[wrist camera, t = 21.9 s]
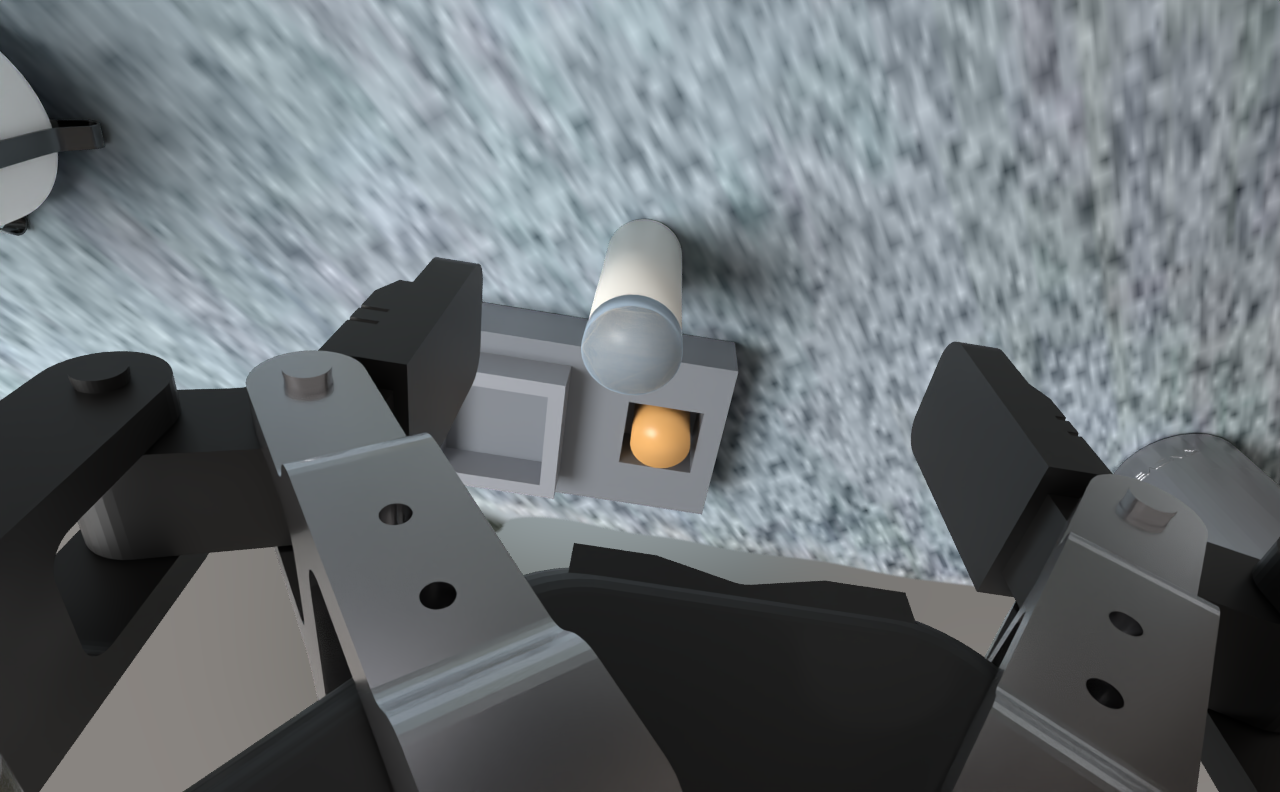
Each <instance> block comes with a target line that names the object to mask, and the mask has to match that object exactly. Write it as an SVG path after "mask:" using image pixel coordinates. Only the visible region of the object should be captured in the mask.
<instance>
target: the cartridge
mask: <svg viewBox="0 0 1280 792" xmlns="http://www.w3.org/2000/svg"><path fill="white" fill-rule="evenodd" d="M581 353H582V359H583V362H584V365H585V367H586V369H587V370H588V372H589V373H590V375H591V376H592V377H593V378H594V379H595V380H596V381H597V382H598V383H599V384H601V385H602V386H604V387H605V388H607V389H609V390H611V391H614V392H617V393H621V394H626V395H642V394H647V393H650V392H653V391H656V390H658V389H660V388H661V387H663V386H665V385H666V384H667V383H668V382H669V381H670V380H671V379H672V378H673V377H674V376H675V374H676V373H677V371H678V369H679V367H680V365H681V361H682V356H683V336H682V249H681V245H680V243H679V240H678V238H677V237H676V235H675V234H674V233H673V232H672V230H671V229H669V228H668V227H667V226H665V225H664V224H662V223H660V222H658V221H654V220H650V219H638V220H633V221H630V222H628V223H626V224H624V225H623V226H621V227H620V228H619V229H618V230H617V231H616V232H615V233H614V234H613V236H612V238H611V239H610V242H609V244H608V248H607V252H606V256H605V260H604V263H603V267H602V271H601V275H600V279H599V282H598V286H597V290H596V294H595V297H594V301H593V305H592V309H591V313H590V316H589V319H588V322H587V324H586V328H585V331H584V335H583V339H582V344H581Z"/></svg>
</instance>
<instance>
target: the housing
mask: <svg viewBox="0 0 1280 792" xmlns="http://www.w3.org/2000/svg"><path fill="white" fill-rule="evenodd" d="M587 322H588V319H585V318H578V317H572V316H566V315H559V314H553V313H547V312H541V311H534V310H528V309H522V308H516V307H509V306H503V305H497V304H491V303H484V302H482V318H481V348H480V358H479V364H478V369H477V373H476V377H475V380H474V382H473V385H472V387H471V388H470V390H469V392H468V394H467V396H466V398H465V400H464V402H463V404H462V406H461V408H460V410H459V412H458V414H457V416H456V418H455V420H454V422H453V424H452V426H451V428H450V430H449V432H448V434H447V436H446V438H445V440H444V442H443V444H442V446H441V447H440V449H441V450H442V452H443V453H444V455H445V456H446V458H447V459H448V461H449V462H450V464H451V465H452V467H453V469H454V470H455V472H456V473H457V475H458V476H459V478H460V479H461V481H462V482H463V484H464V485H465V486H472V487H478V488H485V489H491V490H498V491H504V492H511V493H518V494H524V495H531V496H537V497H544V498H551V499H553V498H554V494H555V492H559V493H565V494H572V495H579V496H585V497H592V498H598V499H605V500H611V501H618V502H625V503H631V504H638V505H644V506H651V507H657V508H664V509H671V510H677V511H684V512H690V513H697V514H702V511H703V508H704V504H705V500H706V496H707V492H708V488H709V484H710V480H711V476H712V473H713V469H714V465H715V461H716V457H717V453H718V449H719V445H720V441H721V438H722V434H723V430H724V426H725V422H726V418H727V414H728V410H729V406H730V403H731V399H732V395H733V391H734V387H735V383H736V379H737V375H738V364H737V356H736V348H735V342H729V341H722V340H716V339H710V338H704V337H697V336H691V335H685V334H682V336H683V356H682V361H681V365H680V367H679V369H678V371H677V373H676V374H675V376H674V377H673V378H672V379H671V380H670V381H669V382H668V383H667V384H666V385H665V386H663V387H661V388H660V389H658V390H656V391H653V392H650V393H647V394H642V395H626V394H621V393H617V392H614V391H611V390H609V389H607V388H605V387H604V386H602V385H601V384H599V383H598V382H597V381H596V380H595V379H594V378H593V377H592V376H591V375H590V373H589V372H588V370H587V369H586V367H585V365H584V362H583V359H582V353H581V344H582V339H583V335H584V331H585V328H586V324H587ZM635 403H639V404H646V405H652V406H658V407H665V408H671V409H678V410H684V411H690V450H689V453H688V455H687V456H686V458H685V459H684V460H683V461H681V462H680V463H679V464H677V465H675V466H672V467H668V468H654V467H650V466H647V465H645V464H643V463H642V462H640V461H639V460H638V459H637V458H636V457H635V456H634V454H633V452H632V450H631V446H630V440H631V431H632V423H633V415H634V407H635Z"/></svg>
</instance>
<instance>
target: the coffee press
mask: <svg viewBox="0 0 1280 792" xmlns="http://www.w3.org/2000/svg"><path fill="white" fill-rule="evenodd" d="M103 147H105V144H104V139H103V135H102V130H101V126H100V123H99V122H97V121H93V120H60V119H49V118H48V116H47V113H46V111H45V109H44V107H43V105H42V103H41V102H40V100H39V98H38V97H37V95H36V93H35V92H34V90H33V89H32V87H31V86H30V84H29V83H28V82H27V80H26V79H25V78H24V77H23V75H22V74H21V73H20V72H19V71H18V69H17V68H16V67H15V66H14V65H13V64H12V63H11V62H10V61H9V60H8V59H7V58H6V57H5V56H4V55H3V54H2V53H1V52H0V226H2V225H5V226H4V227H3V228H0V233H6V234H11V235H17V236H19V235H22V234H24V233H25V232H26V230H27V227H28V221H27V218H26V215H28V214H29V213H31V212H33V211H34V210H35V209H37V208H38V207H39V206H40V205H41V204H42V203H43V202H44V201H45V200H46V198H47V197H48V195H49V194H50V192H51V190H52V188H53V185H54V182H55V179H56V175H57V168H58V153H57V152H62V151H73V150H88V149H99V148H103Z"/></svg>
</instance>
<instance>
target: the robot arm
mask: <svg viewBox="0 0 1280 792" xmlns="http://www.w3.org/2000/svg"><path fill="white" fill-rule="evenodd" d="M482 286H483V275H482V268H481V265H480V264H476V263H470V262H464V261H457V260H451V259H445V258H439V257H435V258H433V259H432V261H431V262H430V263H429V264H428V265H427V266H426V268H425V269H424V270H423V271H422V272H421V273H420V275H419V276H418V277H417V278H416V279H415V280H414V282H409V281H403V280H398V281H396V282H394V283H391V284H389V285H387V286H384V287H382V288H380V289H377V290H375V291H374V292H373V293H372V294H371V295H370V296H369V298H368V299H367V300H366V301H365V302H364V303H363V304H362V306H361V308H358V309H357V310H356V311H355V312H354V313H353V314H352V315H351V316H350V320H347V321H346V322H345V323H344V324H343V325H342V326H341V327H340V328H339V329H338V330H337V331H336V332H335V333H334V334H333V335H332V336H331V338H330V339H329V340H328V341H327V342H326V343H325V344H324V345H323V346H322V347H321V348H320V349H319V350H318V351H316V350H315V351H299V352H292V353H287V354H283V355H279V356H276V357H273V358H271V359H268V360H266V361H264V362H262V363H261V364H259V365H258V366H256V367H255V368H254V369H253V370H252V371H251V372H250V373H249V375H248V377H247V379H246V387H244V388H230V389H193V390H177V389H176V384H175V380H174V376H173V372H172V368H171V367H170V365H169V364H168V363H167V362H166V361H164V360H163V359H161V358H159V357H156V356H153V355H150V354H145V353H139V352H128V351H115V352H102V353H95V354H89V355H84V356H80V357H76V358H73V359H69V360H66V361H63V362H61V363H58V364H56V365H53V366H51V367H49V368H47V369H46V370H44V371H42V372H41V373H39V374H38V375H36V376H35V377H33V378H32V379H30V380H29V381H28V382H26V383H25V384H23V385H22V386H20V387H19V388H18V389H16V390H15V391H13V392H12V393H11V394H9V395H8V396H6V397H5V398H3V399H2V400H1V401H0V792H39V791H40V790H41V789H42V787H43V786H44V784H45V783H46V782H47V780H48V779H49V777H50V776H51V774H52V773H53V772H54V770H55V769H56V767H57V766H58V765H59V763H60V762H61V760H62V759H63V758H64V756H65V755H66V754H67V752H68V751H69V749H70V748H71V746H72V745H73V744H74V742H75V741H76V739H77V738H78V737H79V735H80V734H81V732H82V731H83V730H84V728H85V727H86V725H87V724H88V723H89V721H90V720H91V718H92V717H93V716H94V714H95V713H96V711H97V710H98V709H99V707H100V706H101V704H102V703H103V701H104V700H105V699H106V697H107V696H108V695H109V693H110V692H111V690H112V689H113V688H114V686H115V685H116V683H117V682H118V681H119V679H120V678H121V676H122V675H123V674H124V672H125V671H126V669H127V668H128V667H129V665H130V664H131V662H132V661H133V660H134V658H135V656H136V655H137V654H138V653H139V651H140V650H141V648H142V647H143V645H144V644H145V643H146V641H147V640H148V639H149V637H150V636H151V634H152V633H153V632H154V630H155V629H156V627H157V626H158V625H159V623H160V622H161V620H162V619H163V617H164V616H165V614H166V613H167V612H168V610H169V609H170V608H171V606H172V605H173V603H174V602H175V601H176V599H177V598H178V597H179V595H180V594H181V592H182V591H183V589H184V588H185V587H186V585H187V584H188V582H189V581H190V580H191V578H192V577H193V575H194V574H195V573H196V571H197V570H198V568H199V567H200V566H201V564H202V563H203V561H204V560H205V559H206V557H207V555H208V554H209V553H210V552H221V551H233V550H243V549H255V548H266V547H274V548H275V554H276V557H277V560H278V563H279V566H280V570H281V572H282V576H283V579H284V582H285V585H286V588H287V591H288V594H289V598H290V601H291V604H292V607H293V610H294V613H295V616H296V619H297V622H298V626H299V628H300V632H301V635H302V638H303V641H304V644H305V648H306V651H307V654H308V658H309V662H310V666H311V670H312V675H313V680H314V684H315V688H316V693H317V697H318V701H317V702H315V703H314V704H312V705H311V706H309V707H308V708H306V709H305V710H303V711H302V712H300V713H299V714H297V715H296V716H295V717H293V718H291V719H290V720H289V721H287V722H286V723H284V724H283V725H281V726H280V727H278V728H277V729H275V730H274V731H272V732H271V733H269V734H268V735H266V736H265V737H264V738H262V739H260V740H259V741H257V742H256V743H254V744H253V745H251V746H250V747H248V748H247V749H246V750H244V751H243V752H241V753H240V754H238V755H237V756H235V757H234V758H232V759H231V760H229V761H228V762H226V763H225V764H223V765H222V766H220V767H219V768H217V769H216V770H214V771H213V772H211V773H210V774H208V775H207V776H205V777H204V778H203V779H201V780H199V781H198V782H197V783H195V784H194V785H192V786H191V787H189V788H188V789H186V790H185V791H183V792H1197V784H1198V777H1199V769H1200V762H1202V764H1203V765H1204V767H1205V769H1206V770H1207V772H1208V774H1209V776H1210V777H1211V779H1212V781H1213V782H1214V784H1215V786H1216V788H1217V789H1218V791H1219V792H1280V486H1279V485H1278V484H1277V483H1275V481H1274V480H1272V479H1271V478H1270V477H1269V476H1268V475H1267V474H1266V473H1264V472H1263V471H1262V470H1261V469H1260V468H1259V467H1258V466H1256V465H1255V464H1254V463H1253V462H1252V461H1251V460H1250V459H1249V458H1247V457H1246V456H1245V455H1244V454H1243V453H1242V452H1241V451H1239V450H1238V449H1237V448H1236V447H1235V446H1234V445H1233V444H1231V443H1230V442H1228V441H1226V440H1224V439H1222V438H1220V437H1216V436H1212V435H1208V434H1185V435H1178V436H1174V437H1170V438H1166V439H1162V440H1160V441H1158V442H1155V443H1153V444H1150V445H1148V446H1146V447H1145V448H1143V449H1141V450H1139V451H1138V452H1136V453H1135V454H1133V455H1132V456H1131V457H1130V458H1128V459H1127V460H1126V461H1124V462H1123V464H1122V465H1121V466H1120V467H1119V468H1118V469H1117V470H1116V471H1115V473H1114V474H1112V473H1111V471H1110V470H1109V469H1108V468H1107V467H1106V465H1105V464H1104V463H1103V462H1102V461H1101V459H1100V458H1099V457H1098V456H1097V455H1096V453H1095V452H1094V451H1093V450H1092V449H1091V447H1090V446H1089V445H1088V444H1087V443H1086V441H1085V440H1084V439H1083V438H1082V437H1079V436H1078V432H1077V430H1076V429H1075V428H1074V427H1073V426H1072V424H1071V423H1070V422H1069V421H1065V418H1066V417H1065V416H1064V415H1063V414H1062V412H1061V411H1060V410H1059V409H1058V408H1057V406H1056V405H1055V404H1054V403H1053V402H1052V400H1051V399H1050V398H1048V397H1047V396H1045V395H1044V394H1043V393H1041V392H1040V391H1038V390H1037V389H1036V388H1034V387H1033V386H1031V385H1030V384H1029V383H1028V382H1027V381H1026V380H1025V378H1024V377H1023V376H1022V375H1021V373H1020V372H1019V371H1018V370H1017V369H1016V367H1015V366H1014V365H1013V364H1012V362H1011V361H1010V360H1009V359H1008V357H1007V356H1006V355H1005V354H1004V352H1003V351H1002V350H1000V349H998V348H992V347H986V346H980V345H973V344H967V343H961V342H952V343H951V344H949V345H948V346H947V347H946V349H945V350H944V352H943V353H942V355H941V358H940V360H939V362H938V365H937V367H936V369H935V372H934V374H933V376H932V379H931V381H930V383H929V386H928V388H927V390H926V393H925V395H924V397H923V400H922V402H921V404H920V407H919V409H918V411H917V414H916V416H915V419H914V422H913V426H912V432H911V446H912V451H913V454H914V456H915V458H916V460H917V463H918V465H919V467H920V469H921V471H922V474H923V476H924V478H925V480H926V482H927V484H928V487H929V489H930V491H931V493H932V495H933V497H934V500H935V502H936V504H937V506H938V508H939V510H940V513H941V515H942V517H943V519H944V521H945V523H946V526H947V528H948V530H949V532H950V534H951V536H952V539H953V541H954V543H955V545H956V547H957V550H958V552H959V554H960V556H961V558H962V560H963V563H964V565H965V567H966V569H967V571H968V573H969V576H970V578H971V580H972V582H973V584H974V586H975V589H976V591H977V592H983V593H989V594H996V595H1003V596H1009V597H1014V598H1015V600H1016V601H1015V603H1014V604H1013V606H1012V608H1011V609H1010V611H1009V613H1008V614H1007V616H1006V617H1005V619H1004V621H1003V623H1002V625H1001V627H1000V629H999V630H998V632H997V634H996V636H995V638H994V640H993V642H992V644H991V646H990V648H989V650H988V651H987V653H986V655H985V657H983V656H982V655H980V654H979V653H977V652H976V651H974V650H973V649H971V648H970V647H968V646H966V645H965V644H963V643H962V642H960V641H958V640H956V639H954V638H952V637H950V636H948V635H947V634H945V633H943V632H941V631H939V630H937V629H934V628H932V627H930V626H928V625H925V624H923V623H920V622H918V621H915V619H914V617H913V614H912V611H911V608H910V605H909V602H908V599H907V597H906V593H903V592H897V591H890V590H883V589H877V588H870V587H863V586H856V585H850V584H843V583H837V582H830V581H811V582H793V583H777V584H776V583H775V584H758V585H744V584H738V583H734V582H731V581H728V580H725V579H723V578H720V577H717V576H713V575H711V574H708V573H705V572H703V571H699V570H697V569H694V568H691V567H688V566H685V565H682V564H680V563H677V562H674V561H671V560H668V559H665V558H662V557H659V556H657V555H650V554H643V553H636V552H630V551H623V550H617V549H610V548H603V547H597V546H590V545H583V544H577V543H574V546H573V551H572V556H571V562H570V566H569V568H558V569H550V570H544V571H538V572H533V573H529V574H526V575H523V574H522V573H521V571H520V570H519V568H518V566H517V565H516V563H515V562H514V560H513V559H512V557H511V556H510V554H509V553H508V551H507V550H506V548H505V547H504V545H503V544H502V542H501V540H500V539H499V538H498V536H497V534H496V533H495V531H494V530H493V528H492V527H491V525H490V524H489V522H488V521H487V519H486V518H485V516H484V514H483V513H482V511H481V510H480V508H479V507H478V505H477V504H476V502H475V501H474V499H473V498H472V496H471V495H470V493H469V492H468V490H467V488H466V487H465V485H464V484H463V482H462V481H461V479H460V478H459V476H458V475H457V473H456V472H455V470H454V469H453V467H452V465H451V464H450V462H449V461H448V459H447V458H446V456H445V455H444V453H443V452H442V450H441V449H440V447H441V446H442V444H443V442H444V440H445V438H446V436H447V434H448V432H449V430H450V428H451V426H452V424H453V422H454V420H455V418H456V416H457V414H458V412H459V410H460V408H461V406H462V404H463V402H464V400H465V398H466V396H467V394H468V392H469V390H470V388H471V387H472V385H473V382H474V380H475V377H476V373H477V369H478V364H479V358H480V348H481V318H482ZM76 522H78V524H79V527H80V530H79V531H78V532H77V533H76V534H75V535H74V536H73V537H72V538H71V539H70V540H69V541H68V543H67V544H66V545H65V546H64V547H63V548H62V549H61V550H60V551H59V552H58V553H57V554H56V552H57V549H58V546H59V545H60V543H61V541H62V539H63V538H64V536H65V535H66V533H67V532H68V531H69V530H70V529H71V528H72V527H73V526H74V525H75V524H76Z"/></svg>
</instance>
